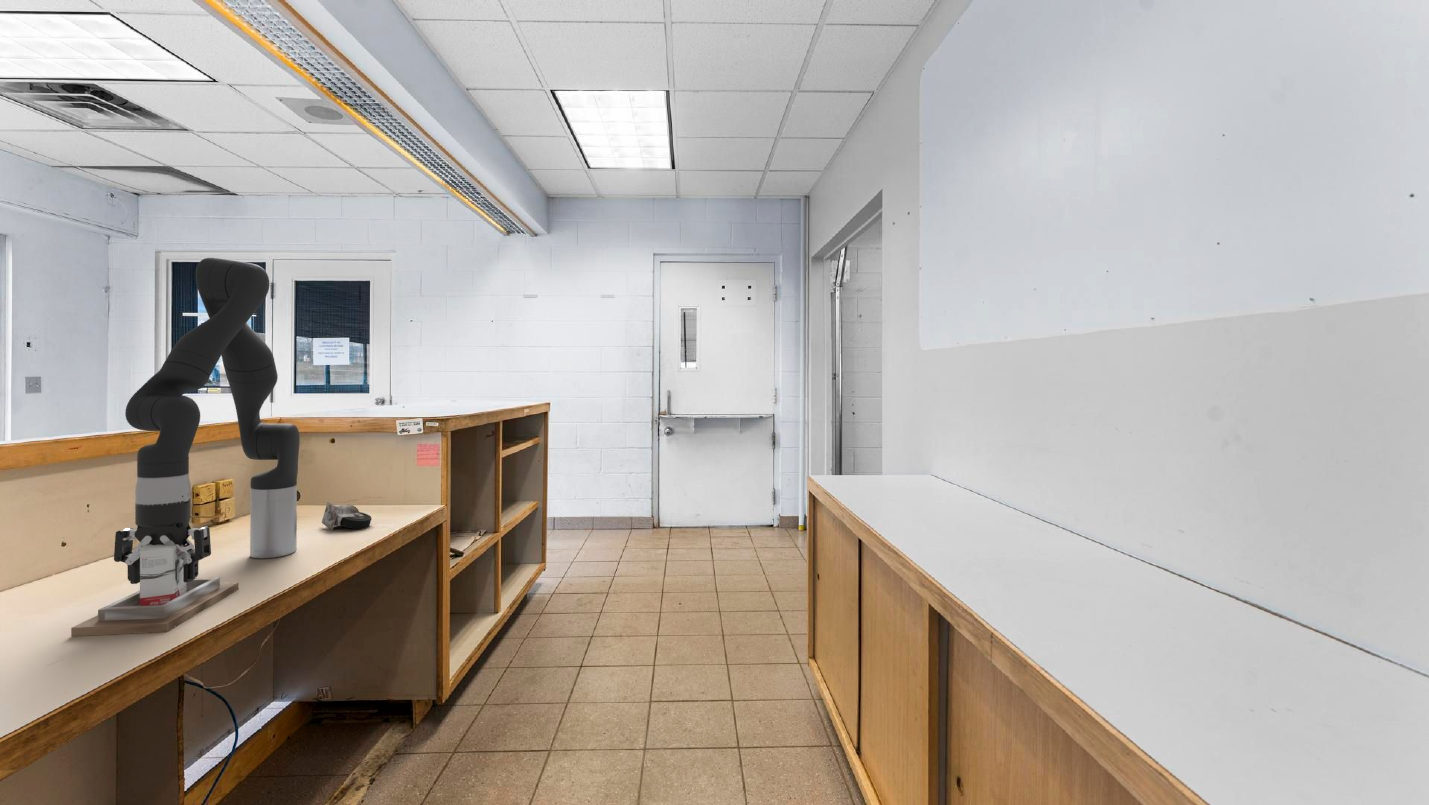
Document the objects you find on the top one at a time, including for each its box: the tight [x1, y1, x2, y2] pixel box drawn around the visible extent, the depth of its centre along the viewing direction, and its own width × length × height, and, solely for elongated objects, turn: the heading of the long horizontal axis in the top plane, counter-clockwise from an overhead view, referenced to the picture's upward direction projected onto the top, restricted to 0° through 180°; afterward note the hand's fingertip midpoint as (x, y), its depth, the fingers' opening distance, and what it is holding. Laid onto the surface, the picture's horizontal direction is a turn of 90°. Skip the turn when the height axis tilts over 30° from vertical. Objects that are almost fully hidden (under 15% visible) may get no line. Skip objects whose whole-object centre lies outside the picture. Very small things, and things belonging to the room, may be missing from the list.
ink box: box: [139, 544, 186, 606], centre depth 106 cm, size 9×5×12 cm, turn 32°
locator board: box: [70, 577, 240, 637], centre depth 107 cm, size 20×14×4 cm
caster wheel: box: [321, 501, 372, 531], centre depth 167 cm, size 7×11×10 cm
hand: (163, 581), depth 106 cm, fingers open, 8 cm apart
